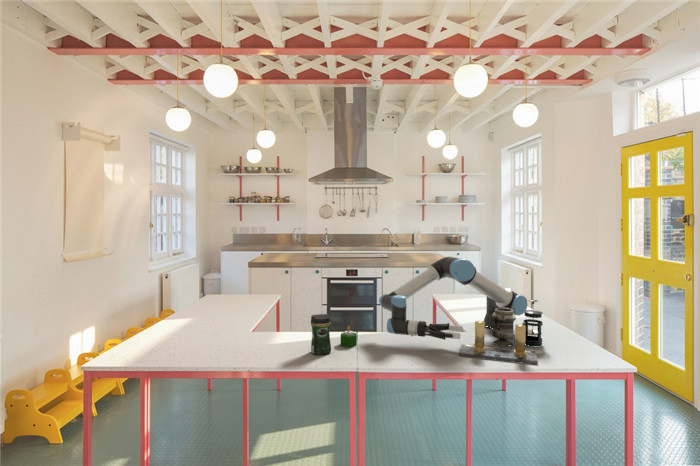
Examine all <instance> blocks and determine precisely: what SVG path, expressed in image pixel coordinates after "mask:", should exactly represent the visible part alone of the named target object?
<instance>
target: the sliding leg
mask: <svg viewBox="0 0 700 466" xmlns="http://www.w3.org/2000/svg"><path fill="white" fill-rule="evenodd" d="M483 321H484V320H483ZM483 321H482V320H475V321H474V351H477V352H478V353H480V352H485V347H486V345H485V337H486V336H485V331H486V330H485V329H486V327H485V322H483Z"/></svg>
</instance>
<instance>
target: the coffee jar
mask: <svg viewBox="0 0 700 466" xmlns="http://www.w3.org/2000/svg"><path fill="white" fill-rule="evenodd" d="M310 317H311V318H310V326H311V345H310V352H311V354H312V355H315V356H316V355H317V356H321V355H328V354H330V353H332V346H331V345H332V344H331V335H330V334H331V333H330V326H331V324H332V322H331V316H330V315H329V313H322V314H320V313H319V314H318V313H317V314H312V315H311V316H310Z"/></svg>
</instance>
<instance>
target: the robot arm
mask: <svg viewBox="0 0 700 466" xmlns="http://www.w3.org/2000/svg"><path fill="white" fill-rule="evenodd" d="M445 278H449V279H452V280H454V281H456V282H458V283H459V284H461V285H463V286H467V285H468V286H469V287H471V288H473V289H475V290H476V291H478V292H479V293H481V294H483V295H484V296H486V310H485V311H486V313H485V316H484V319H483V322H485V326H488V327H491V328H494V319H493V318H492V314H493V313H494V312H495V309H496V308H509V309H512V310H513V314H514V315H515V316H521V315H523V314H525V313H524V311H525V310H528V299H527V298H526V296H525V295H523V294H520V293H517V292H515V291H514V290H511V289H510V288H506V287H502V286H500V285H499V284H497V283H496V282H495V281H492V280H491V279H489V278H488V277H486V276H485V275H483V274H482V273H481V272H478V271H477V267H476V266H475V265H474V264H473V262H471V261H470V260H468V259H467V258H461V257H453V256H445V257H442V258H440V259H439V260H436V261H434V262H433V263H431V264H430V265H428V267H427V269H426V270H424V271H423V272H421V273H419V274H418V275H416V276H415V277H412V278H411V279H409V280H408V281H407V282H405V283H404V284H402V285H400V286H399V287H398V288H396V289H395V290H393V291H391V292H390V293H386V294H385V293H384V294H382V295H381V296H380V297H379V299H378V302H379V303H378V304H379V305H380V307H382V308H383V309H384V310H387V311H389V312H391V318H388V319H387V322H386V332H387V333H389V334H393V335H404V336H410V337H414V336H415V337H417V336H418V337H420V338H421V337H422V338H423V337H426V336H429V337H433V338H437V339H441V340H446V339H451V340H452V339H453V340H460V339H461V333H462V332H463V329H464V328H463V325H456V324H455V325H453V324H452V325H451V324H450V323H449V322H446V323H429V325H428V324H427V321H425V320H424V321H422V320H412V319H411V320H410V319H407V304H408V303H407V299H409V298H410V297H412V296H414V295H415V294H417V293H418V292H420V291H421V290H422V289H424V288H426V287H427V286H429V285H430V284H432V283H434V282H435V281H440V280H442V279H445ZM491 328H490V329H491ZM444 331H445V332H444ZM460 332H461V333H460Z"/></svg>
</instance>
